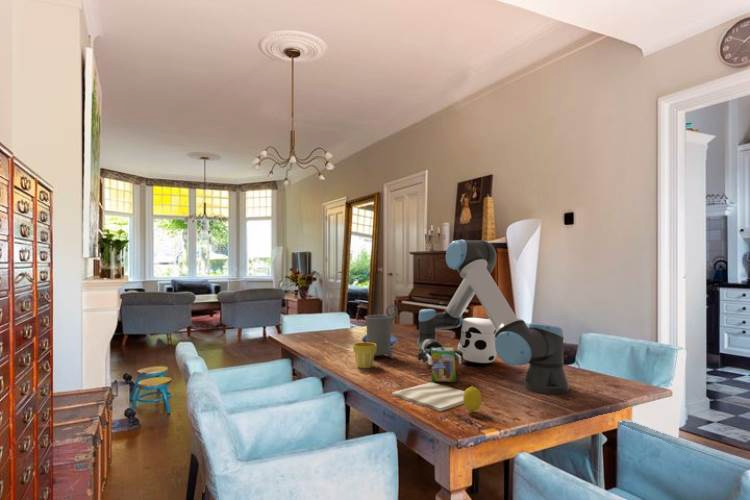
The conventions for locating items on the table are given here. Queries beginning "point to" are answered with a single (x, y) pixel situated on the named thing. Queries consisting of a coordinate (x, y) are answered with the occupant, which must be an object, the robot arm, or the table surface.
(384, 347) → the mug
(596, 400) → the table surface
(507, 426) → the table surface
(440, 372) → the chalk box
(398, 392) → the ash board
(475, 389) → the lemon
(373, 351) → the plant pot
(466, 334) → the milk container
